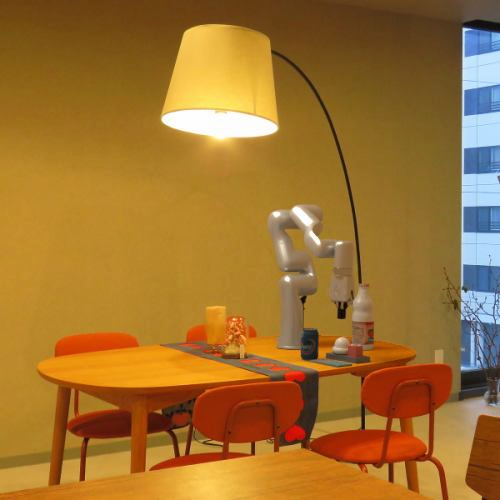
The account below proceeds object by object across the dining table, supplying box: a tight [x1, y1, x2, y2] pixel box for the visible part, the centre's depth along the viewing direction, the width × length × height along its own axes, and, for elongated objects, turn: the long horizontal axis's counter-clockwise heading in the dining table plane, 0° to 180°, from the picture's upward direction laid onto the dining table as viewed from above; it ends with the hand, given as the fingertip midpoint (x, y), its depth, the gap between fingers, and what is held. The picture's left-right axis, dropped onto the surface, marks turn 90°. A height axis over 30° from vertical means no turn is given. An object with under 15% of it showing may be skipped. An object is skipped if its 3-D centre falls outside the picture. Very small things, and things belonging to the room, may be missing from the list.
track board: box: [308, 358, 353, 368], centre depth 291 cm, size 15×8×1 cm, turn 39°
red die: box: [348, 343, 364, 357], centre depth 297 cm, size 4×4×4 cm
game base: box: [325, 351, 371, 364], centre depth 300 cm, size 16×8×2 cm, turn 39°
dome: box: [332, 336, 351, 354], centre depth 303 cm, size 8×8×6 cm
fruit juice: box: [351, 283, 375, 351], centre depth 330 cm, size 9×9×28 cm
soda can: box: [300, 327, 320, 362], centre depth 300 cm, size 7×7×12 cm
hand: (341, 318), depth 303 cm, fingers closed
